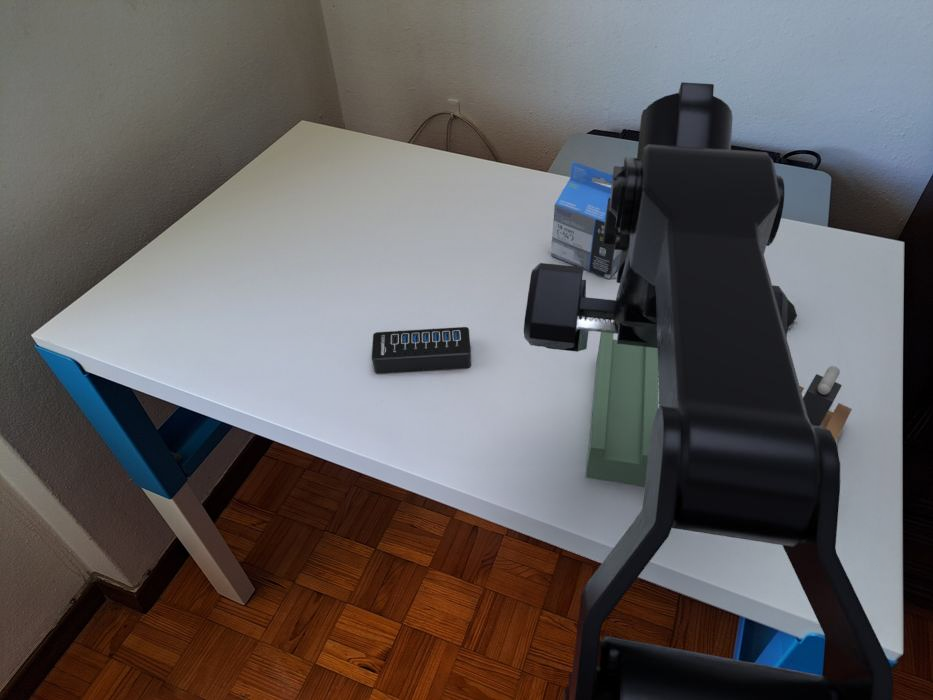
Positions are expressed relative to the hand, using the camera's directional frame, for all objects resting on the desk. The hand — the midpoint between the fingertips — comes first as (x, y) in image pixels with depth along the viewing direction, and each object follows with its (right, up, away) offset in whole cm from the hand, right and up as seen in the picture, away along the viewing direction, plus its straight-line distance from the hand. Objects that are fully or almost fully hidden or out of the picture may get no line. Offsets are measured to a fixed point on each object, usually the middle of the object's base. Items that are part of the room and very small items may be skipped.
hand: (638, 348), depth 59 cm
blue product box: (+1, +11, +30) cm, 32 cm away
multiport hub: (-20, -1, +19) cm, 28 cm away
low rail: (+16, -11, +8) cm, 21 cm away
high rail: (+1, -7, +12) cm, 14 cm away
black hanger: (+16, -10, +7) cm, 21 cm away
